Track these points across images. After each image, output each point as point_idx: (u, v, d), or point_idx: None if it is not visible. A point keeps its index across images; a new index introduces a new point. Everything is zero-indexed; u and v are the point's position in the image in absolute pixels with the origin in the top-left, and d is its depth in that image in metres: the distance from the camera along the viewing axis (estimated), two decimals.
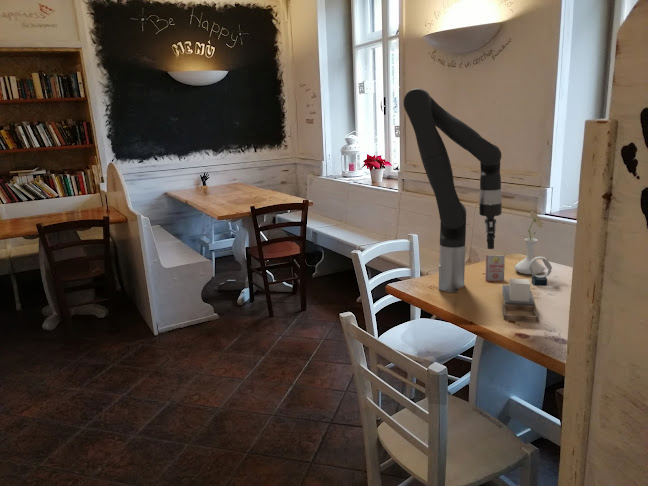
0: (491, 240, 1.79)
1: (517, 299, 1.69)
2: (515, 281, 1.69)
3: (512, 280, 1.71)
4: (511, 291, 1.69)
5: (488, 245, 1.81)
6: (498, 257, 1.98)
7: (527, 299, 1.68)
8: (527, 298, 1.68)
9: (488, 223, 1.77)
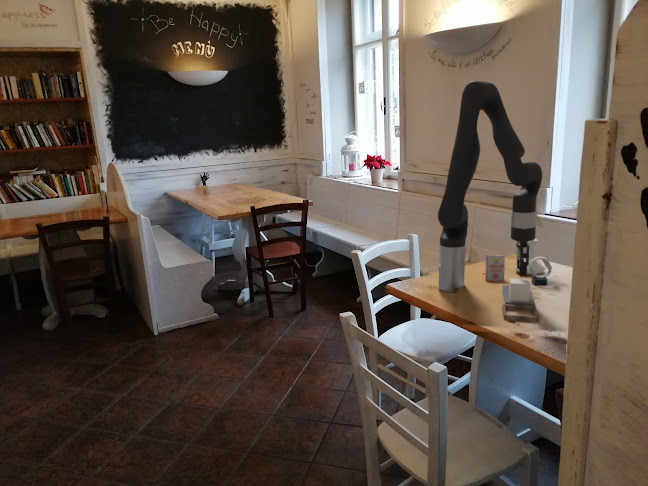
0: (524, 267, 1.63)
1: (517, 299, 1.69)
2: (515, 281, 1.69)
3: (512, 280, 1.71)
4: (511, 291, 1.69)
5: (520, 273, 1.64)
6: (498, 257, 1.98)
7: (527, 299, 1.68)
8: (527, 298, 1.68)
9: (522, 249, 1.60)
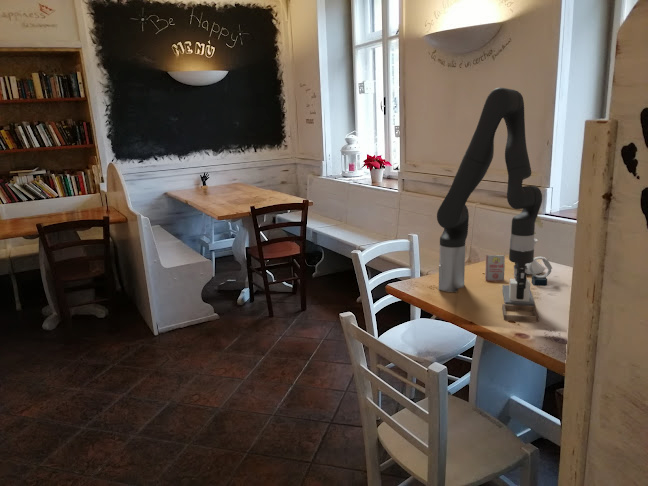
0: (521, 290, 1.66)
1: (517, 299, 1.69)
2: (515, 281, 1.69)
3: (512, 280, 1.71)
4: (511, 291, 1.69)
5: (517, 295, 1.68)
6: (498, 257, 1.98)
7: (527, 299, 1.68)
8: (527, 298, 1.68)
9: (519, 275, 1.62)
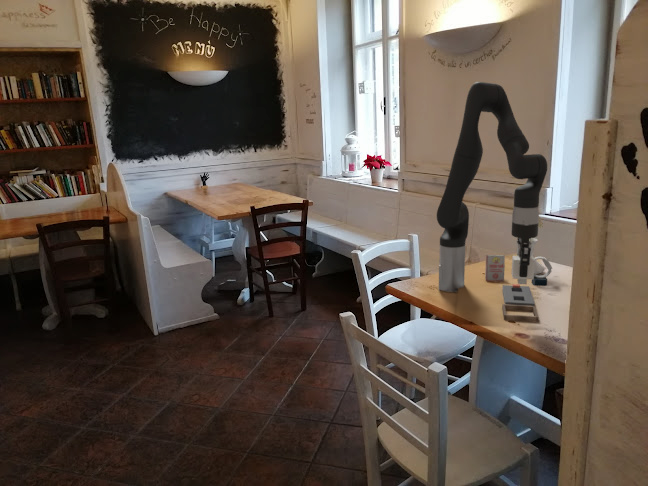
0: (524, 267, 1.55)
1: (520, 277, 1.57)
2: (518, 258, 1.58)
3: (515, 257, 1.59)
4: (514, 268, 1.57)
5: (520, 273, 1.56)
6: (498, 257, 1.98)
7: (531, 277, 1.56)
8: (531, 276, 1.56)
9: (523, 250, 1.51)
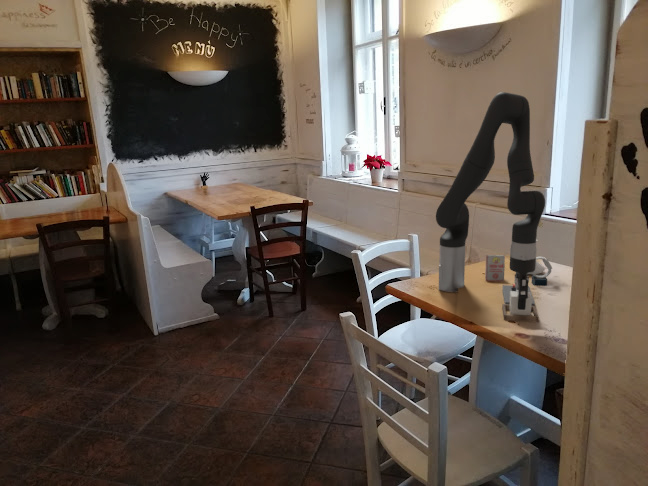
0: (523, 300, 1.56)
1: (518, 313, 1.60)
2: (516, 294, 1.60)
3: (512, 293, 1.62)
4: (512, 304, 1.60)
5: (519, 305, 1.57)
6: (498, 257, 1.98)
7: (528, 313, 1.59)
8: (528, 312, 1.59)
9: (520, 281, 1.53)
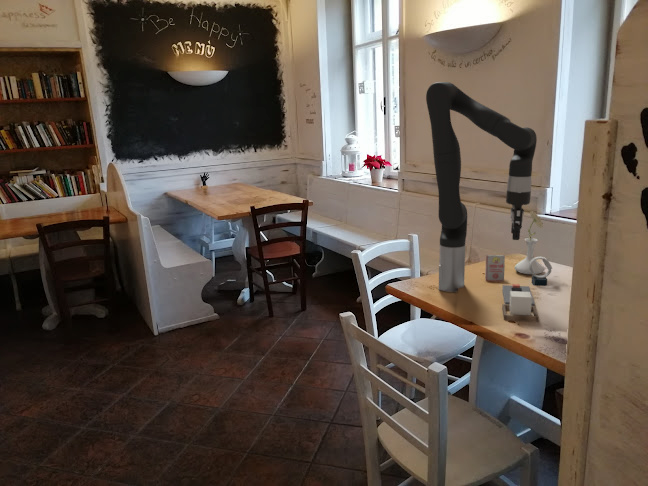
0: (517, 230, 1.67)
1: (518, 313, 1.60)
2: (516, 294, 1.60)
3: (512, 293, 1.62)
4: (512, 304, 1.60)
5: (513, 236, 1.69)
6: (498, 257, 1.98)
7: (528, 313, 1.59)
8: (528, 312, 1.59)
9: (515, 212, 1.65)
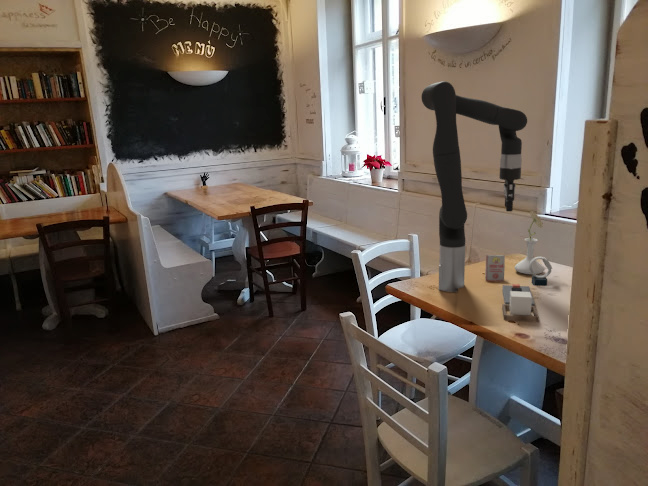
0: (510, 203, 1.88)
1: (518, 313, 1.60)
2: (516, 294, 1.60)
3: (512, 293, 1.62)
4: (512, 304, 1.60)
5: (507, 207, 1.89)
6: (498, 257, 1.98)
7: (528, 313, 1.59)
8: (528, 312, 1.59)
9: (508, 186, 1.85)
